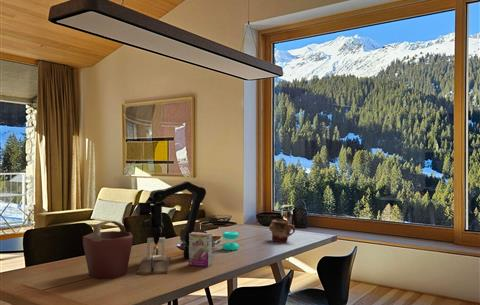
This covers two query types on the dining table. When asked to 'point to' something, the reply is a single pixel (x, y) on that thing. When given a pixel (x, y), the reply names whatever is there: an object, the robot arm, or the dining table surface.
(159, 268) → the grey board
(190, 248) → the candy bar box
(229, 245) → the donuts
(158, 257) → the hollow square tube
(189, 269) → the dining table surface
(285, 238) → the brown ceramic mug
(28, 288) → the dining table surface
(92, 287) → the dining table surface
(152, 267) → the bent copper wire
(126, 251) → the bucket
